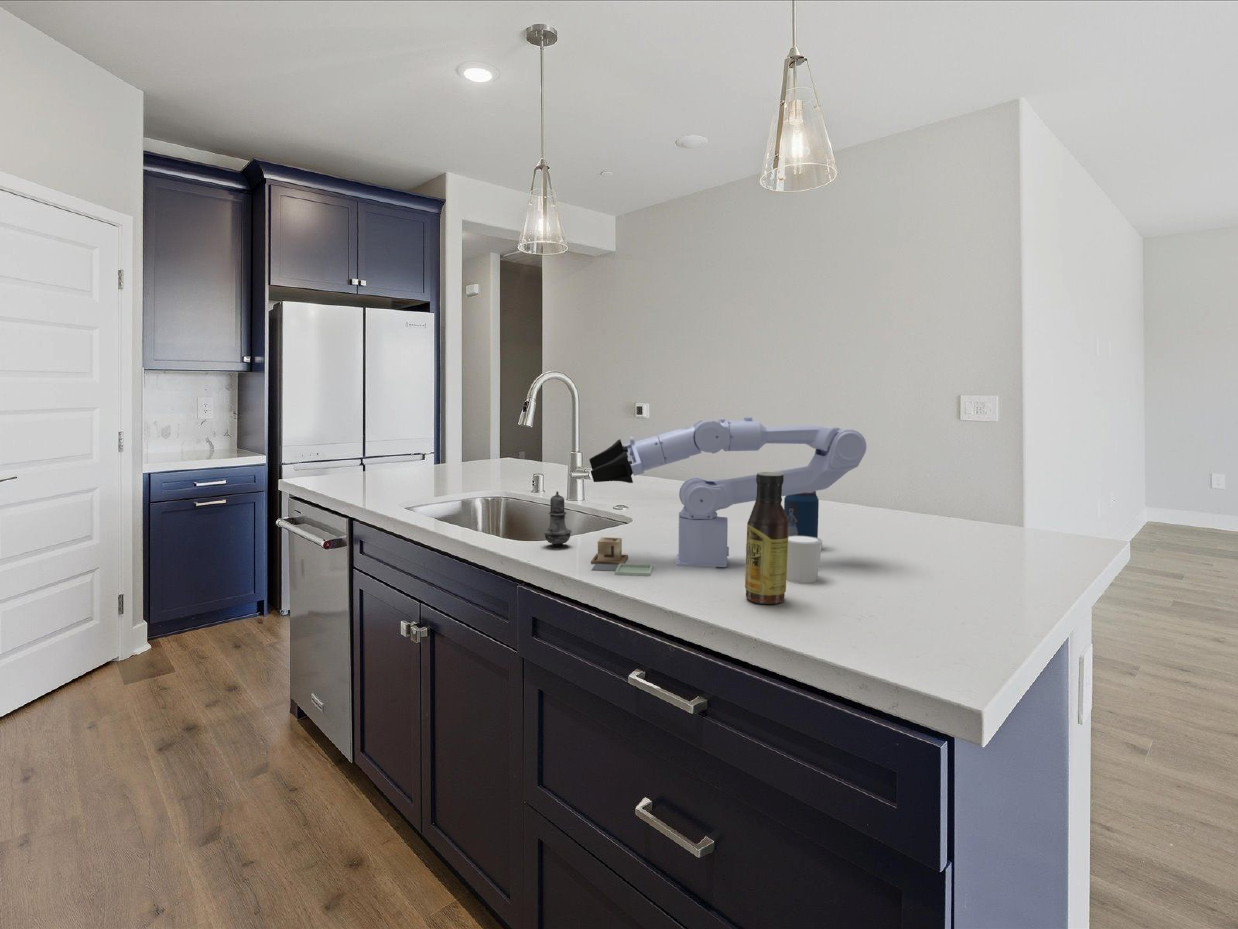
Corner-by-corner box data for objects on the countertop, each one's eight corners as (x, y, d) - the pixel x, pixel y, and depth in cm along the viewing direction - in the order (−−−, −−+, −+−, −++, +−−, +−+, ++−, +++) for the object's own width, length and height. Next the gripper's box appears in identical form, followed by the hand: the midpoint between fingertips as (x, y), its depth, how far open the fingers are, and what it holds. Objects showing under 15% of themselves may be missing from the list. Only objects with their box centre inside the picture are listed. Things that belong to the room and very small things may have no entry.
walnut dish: (628, 558, 132) (628, 554, 132) (623, 566, 126) (623, 562, 126) (596, 557, 133) (596, 553, 133) (590, 565, 127) (590, 561, 127)
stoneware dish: (653, 568, 125) (653, 564, 124) (650, 577, 118) (650, 573, 118) (619, 567, 125) (619, 563, 125) (614, 576, 119) (614, 571, 119)
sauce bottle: (740, 594, 108) (742, 470, 106) (778, 593, 109) (781, 470, 107) (751, 607, 102) (754, 475, 100) (792, 606, 102) (795, 475, 100)
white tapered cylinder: (799, 585, 114) (800, 544, 113) (771, 576, 120) (772, 537, 119) (829, 580, 117) (831, 540, 116) (801, 571, 123) (802, 533, 122)
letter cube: (621, 558, 131) (621, 537, 131) (618, 563, 127) (618, 542, 127) (601, 557, 132) (601, 537, 131) (597, 562, 128) (597, 541, 127)
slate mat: (618, 566, 126) (618, 564, 126) (615, 572, 122) (615, 570, 122) (595, 566, 127) (595, 563, 127) (591, 572, 122) (591, 569, 122)
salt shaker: (567, 552, 138) (567, 493, 137) (539, 550, 139) (539, 492, 138) (575, 546, 144) (574, 489, 143) (548, 544, 145) (547, 488, 144)
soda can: (817, 545, 145) (819, 489, 144) (817, 552, 138) (819, 493, 137) (783, 543, 147) (785, 488, 146) (782, 550, 140) (783, 492, 139)
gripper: (651, 421, 133) (584, 440, 133) (660, 439, 119) (586, 461, 119) (660, 454, 135) (594, 473, 135) (670, 476, 121) (597, 497, 121)
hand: (591, 470), depth 127 cm, fingers open, 7 cm apart
